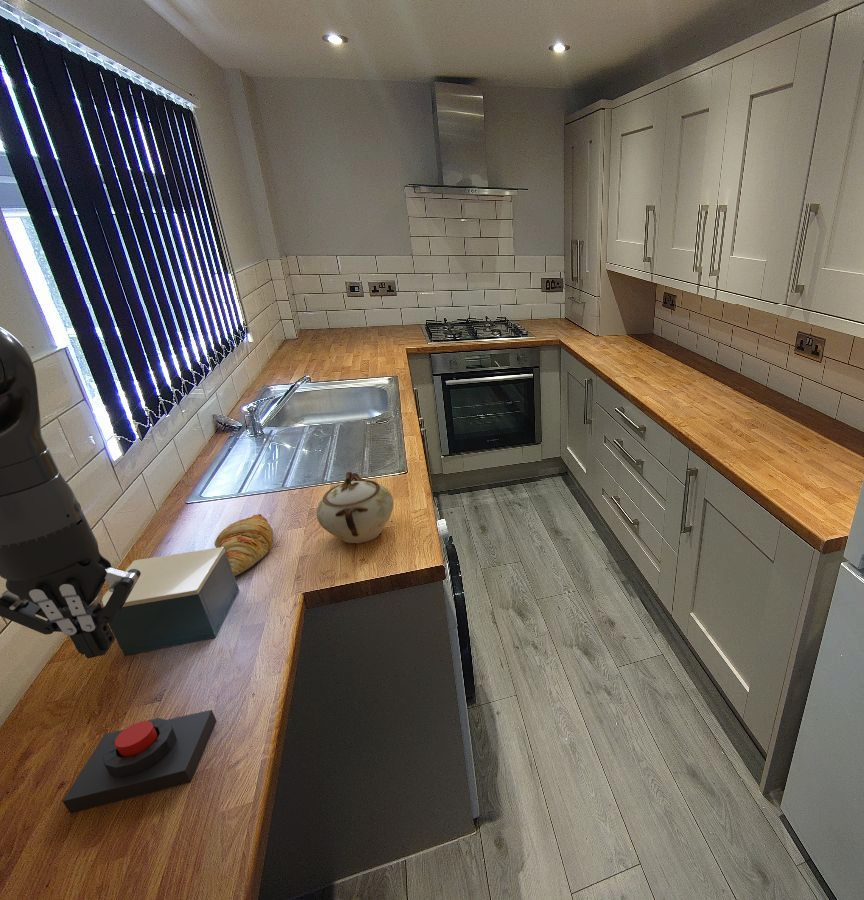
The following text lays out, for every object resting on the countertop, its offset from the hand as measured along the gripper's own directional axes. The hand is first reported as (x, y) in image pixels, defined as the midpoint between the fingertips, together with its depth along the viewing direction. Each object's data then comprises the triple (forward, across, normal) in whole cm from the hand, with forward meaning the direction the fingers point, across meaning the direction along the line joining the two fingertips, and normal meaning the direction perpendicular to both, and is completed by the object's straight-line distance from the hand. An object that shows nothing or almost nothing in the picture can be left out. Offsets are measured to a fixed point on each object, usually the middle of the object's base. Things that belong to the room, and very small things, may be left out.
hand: (100, 651), depth 60 cm
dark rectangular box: (+17, -6, +27) cm, 33 cm away
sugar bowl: (+17, +21, +47) cm, 54 cm away
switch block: (+17, 0, -2) cm, 17 cm away
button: (+13, 0, -2) cm, 14 cm away
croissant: (+17, -1, +47) cm, 50 cm away
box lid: (+8, -6, +27) cm, 29 cm away
